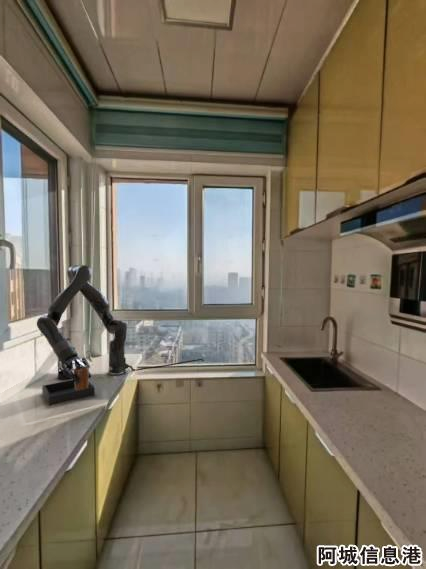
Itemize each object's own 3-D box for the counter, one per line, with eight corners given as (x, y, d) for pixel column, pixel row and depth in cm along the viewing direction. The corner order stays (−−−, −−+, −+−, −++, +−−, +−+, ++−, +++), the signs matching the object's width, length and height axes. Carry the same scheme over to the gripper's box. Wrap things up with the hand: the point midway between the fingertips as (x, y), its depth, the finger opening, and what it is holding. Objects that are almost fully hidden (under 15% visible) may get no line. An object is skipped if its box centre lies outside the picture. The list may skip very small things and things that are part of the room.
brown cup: (86, 384, 135) (86, 365, 135) (90, 388, 130) (90, 368, 130) (72, 386, 131) (72, 367, 131) (75, 391, 126) (76, 370, 126)
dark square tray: (84, 386, 155) (84, 377, 155) (94, 396, 142) (94, 386, 142) (42, 395, 142) (42, 385, 142) (48, 407, 129) (48, 396, 129)
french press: (53, 380, 162) (54, 340, 162) (59, 375, 171) (59, 337, 171) (76, 379, 165) (76, 340, 164) (80, 374, 174) (80, 336, 173)
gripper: (56, 349, 126) (77, 380, 122) (81, 343, 140) (100, 370, 136) (47, 360, 128) (67, 390, 124) (72, 352, 141) (91, 379, 138)
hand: (84, 379), depth 130 cm, fingers closed on brown cup, 6 cm apart
